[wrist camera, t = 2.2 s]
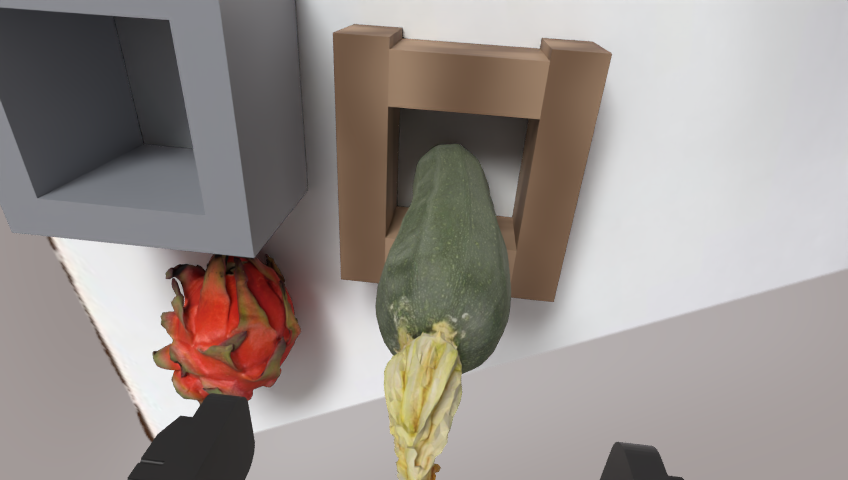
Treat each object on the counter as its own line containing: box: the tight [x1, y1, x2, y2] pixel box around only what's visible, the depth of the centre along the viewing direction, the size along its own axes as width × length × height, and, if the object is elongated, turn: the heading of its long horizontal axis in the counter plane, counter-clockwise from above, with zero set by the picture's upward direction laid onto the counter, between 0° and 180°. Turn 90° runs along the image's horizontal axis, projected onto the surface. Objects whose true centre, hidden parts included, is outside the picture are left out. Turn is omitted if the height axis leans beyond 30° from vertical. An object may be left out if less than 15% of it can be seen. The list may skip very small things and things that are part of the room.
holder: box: [0, 0, 308, 258], centre depth 23 cm, size 12×12×8 cm
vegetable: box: [376, 144, 511, 480], centre depth 19 cm, size 4×4×20 cm
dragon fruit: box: [153, 254, 301, 405], centre depth 31 cm, size 8×8×12 cm
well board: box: [333, 24, 612, 302], centre depth 26 cm, size 12×13×4 cm
